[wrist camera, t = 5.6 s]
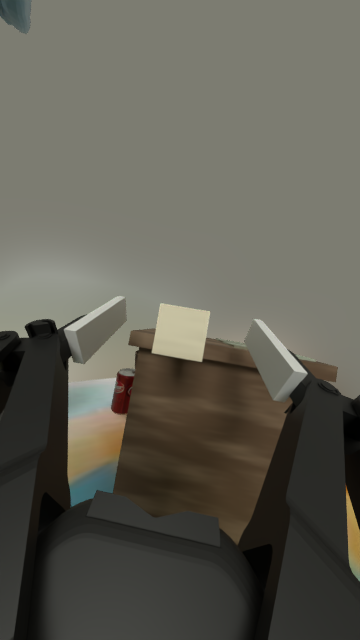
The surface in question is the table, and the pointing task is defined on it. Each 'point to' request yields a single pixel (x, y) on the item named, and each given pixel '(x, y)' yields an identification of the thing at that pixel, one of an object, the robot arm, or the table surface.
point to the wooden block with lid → (201, 432)
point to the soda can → (122, 391)
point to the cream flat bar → (181, 332)
